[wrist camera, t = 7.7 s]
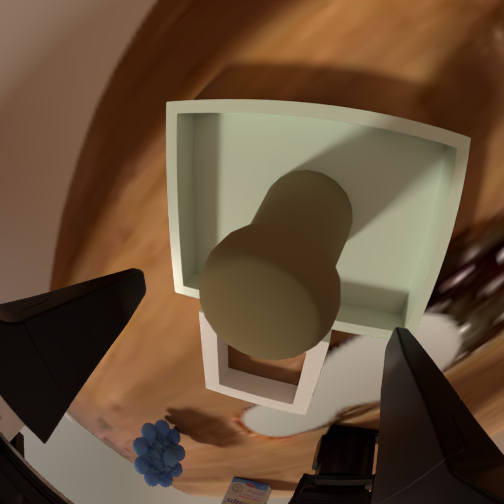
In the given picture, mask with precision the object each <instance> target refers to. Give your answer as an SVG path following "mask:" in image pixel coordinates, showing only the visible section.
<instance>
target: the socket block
mask: <svg viewBox="0 0 504 504" xmlns="http://www.w3.org/2000/svg"><path fill="white" fill-rule="evenodd" d="M199 318H200V330H201V342H202V352H203V362H204V372H205V381H206V388H207V389H210V390H213V391H216V392H219V393H222V394H225V395H228V396H232V397H235V398H238V399H242V400H245V401H248V402H252V403H256V404H259V405H263V406H267V407H271V408H275V409H279V410H283V411H287V412H292V413H297V414H301V415H305V414H306V412H307V409H308V406H309V404H310V401H311V398H312V395H313V392H314V390H315V387H316V384H317V381H318V378H319V375H320V372H321V369H322V366H323V363H324V360H325V356H326V353H327V350H328V347H329V343H330V338H331V331H332V329H331V330H330V331H329V333H328V334H327V335H326V336H325V337H324V338H323V339H322V340H321V341H320V342H319V343H318V344H317V345H316V346H315V347H313V348H312V349H310V350H308V351H306V352H305V353H307V354H306V358H305V362H304V365H303V369H302V373H301V377H300V381H299V384H298V385H293V384H289V383H285V382H280V381H276V380H272V379H268V378H264V377H260V376H257V375H253V374H249V373H246V372H242V371H239V370H235V369H232V368H228V344H227V343H226V342H225V341H224V340H222V339H221V338H220V337H219V336H218V335H217V334H216V333H215V332H214V331H213V329H212V328H211V326H210V324H209V323H208V321H207V320H206V318H205V316H204V313H203V310H202V309H201V310H200V311H199Z"/></svg>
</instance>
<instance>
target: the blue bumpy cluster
mask: <svg viewBox="0 0 504 504" xmlns="http://www.w3.org/2000/svg"><path fill="white" fill-rule="evenodd" d="M141 433H142V436H143V438H142V437H140V438H136V439H135V440H134V443H133V449H134V452H135V453H136V454H137V455H139V457H137V458H136V459H135V462H134V467H135V469H136V471H137V472H139V473H140V474H144V479H145V481H146V483H147V484H148V485H149V486H156V485H157V484H160V485H161V486H163V487H169V486H170V485H171V484H172V482H173V477H179V476H180V475H181V474H182V466H181V464H180V463H179V462H178V461H182V460H183V459H184V457H185V450H184V448H183V447H182V446H181V445H178V443H179V442H180V434H179V432H178V431H177V430H176V429H170V428H169V425H168V423H167V422H166V421H164V420H159V421H157V422H156V423H155V426H154V425H153V424H151V423H146V424H144V425H143V426H142V429H141Z"/></svg>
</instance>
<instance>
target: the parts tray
mask: <svg viewBox="0 0 504 504" xmlns="http://www.w3.org/2000/svg"><path fill="white" fill-rule="evenodd" d="M470 141H471V138H470V137H467V136H464V135H461V134H458V133H455V132H452V131H449V130H445V129H442V128H439V127H435V126H432V125H428V124H424V123H420V122H417V121H413V120H408V119H404V118H400V117H395V116H391V115H386V114H381V113H376V112H370V111H365V110H359V109H353V108H346V107H339V106H332V105H324V104H315V103H305V102H293V101H278V100H254V99H213V100H189V101H174V102H167V105H166V165H167V195H168V214H169V229H170V243H171V255H172V266H173V276H174V285H175V292H177V293H180V294H184V295H187V296H191V297H195V298H199V299H200V296H199V285H200V275H201V272H202V270H203V268H204V265H205V263H206V261H207V259H208V256H209V254H210V252H211V250H212V249H214V248H215V247H216V246H217V245H218V244H219V243H220V242H221V241H222V240H223V239H224V238H225V237H226V236H227V235H228V234H230V233H231V232H232V231H235V230H237V229H239V228H242V227H244V226H247V225H249V224H251V222H252V220H253V218H254V216H255V214H256V212H257V210H258V209H259V207H260V205H261V203H262V201H263V199H264V197H265V196H266V194H267V192H268V190H269V188H270V186H271V185H273V184H274V183H275V182H276V181H277V180H278V179H279V178H280V177H282V176H284V175H286V174H289V173H291V172H293V171H303V170H310V171H315V172H319V173H323V174H325V175H326V176H328V177H330V178H331V179H333V180H335V181H336V182H337V183H338V184H339V185H340V186H341V187H342V189H343V190H344V191H345V192H346V194H347V196H348V198H349V201H350V203H351V206H352V216H353V222H352V226H351V229H350V233H349V236H348V238H347V241H346V243H345V246H344V248H343V251H342V253H341V255H340V258H339V260H338V263H337V265H336V269H337V272H338V274H339V277H340V284H341V302H340V309H339V311H338V314H337V317H336V319H335V322H334V324H333V326H332V328H331V329H333V330H338V331H343V332H349V333H354V334H360V335H365V336H371V337H377V338H383V339H390V337H391V335H392V332H393V330H394V329H395V327H403V328H407V329H408V330H409V331H410V332H411V333H412V335H414V333H415V331H416V329H417V326H418V324H419V322H420V320H421V317H422V315H423V313H424V311H425V308H426V306H427V303H428V301H429V298H430V296H431V293H432V291H433V288H434V286H435V283H436V280H437V278H438V275H439V272H440V269H441V266H442V263H443V260H444V257H445V254H446V251H447V248H448V245H449V241H450V238H451V234H452V231H453V227H454V223H455V220H456V216H457V212H458V208H459V203H460V199H461V194H462V190H463V185H464V180H465V174H466V169H467V162H468V156H469V149H470Z"/></svg>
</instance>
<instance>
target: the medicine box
mask: <svg viewBox="0 0 504 504" xmlns="http://www.w3.org/2000/svg"><path fill="white" fill-rule="evenodd" d="M271 491H272V490H271V488H270V485H269V484H266V483H260V482H255V481H251V480H246V479H241V478H237V477H233V479H232V482H231V484H230V486H229V488H228V490H227V492H226V494H225V497H224V499H223V501H222V503H221V504H267V501H268V499H269V496H270V494H271Z"/></svg>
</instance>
